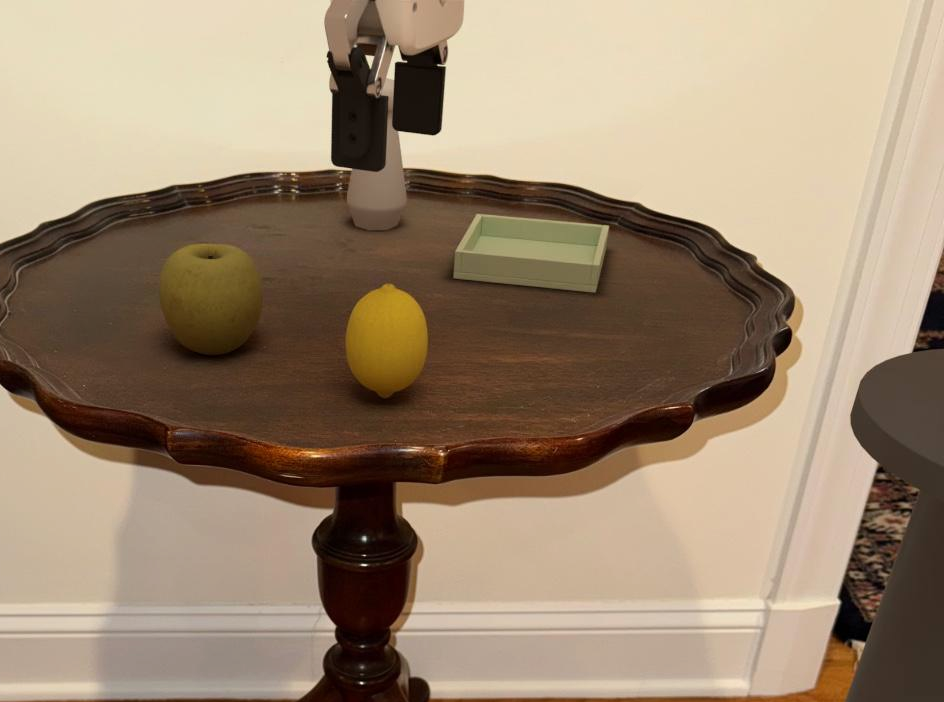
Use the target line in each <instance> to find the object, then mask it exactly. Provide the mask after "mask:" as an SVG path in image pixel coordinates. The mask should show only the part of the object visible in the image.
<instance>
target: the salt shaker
mask: <svg viewBox="0 0 944 702" xmlns="http://www.w3.org/2000/svg"><path fill="white" fill-rule="evenodd" d="M393 94H394V79H392V78H387V77H386V80H385V83H384V87H383V90H382V94H381V95H384V96H389V101H388V123H387V145H386V165H385V167H384V168H383V169H382V170H381V171H379V172H372V171H365V170H358V169H351V173H350V178H349V183H348V188H347V193H346V203H347V208H348V210H349V213H350V216H351V218H352V221H353V224H354V225H355V227H357V228H360V229H363V230H366V231H389V230H391V229H393V228H395V227H397V226H398V225H399V222H400V221H401V218H402V216H403V214H404V211H405V209H406V207H407V204H408V203H407V202H408V196H407V188H406V181H405V173H404V166H403V157H402V148H401V142H400V141H401V140H400V133H399V132H400V131H396V130H394V128H393V126H392V115H393Z"/></svg>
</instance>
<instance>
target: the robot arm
mask: <svg viewBox="0 0 944 702" xmlns="http://www.w3.org/2000/svg"><path fill="white" fill-rule="evenodd" d="M464 14H465V0H330V5H329V6H328V8H327V10H326V12H325V15H324V21H323V23H324V30H325V31H324V32H325V36H326V41H327V42H326V43H327V46H328V51H327V53H326V58H327V60H326V63H327V65H328V68H329V71H330V74H329V75H330V76H329V81H328V84H329V91H330V93H331V136H330V137H331V138H330V139H331V140H330V161H331V163H332V165H333V166H335V167H336V168H337V167H338V168H343V169H351V170H352V169H358V170H365V171H372V172H379V171H381V170H382V169H383V168H384V167H385V165H386V145H387V123H388V101H389V96H384V95H381V94H382V90H383V87H384V83H385V80H386V78H387V76H388V73H389V69H390V67H391V62H392V58H393V55H394V52H395V49H396V46H397V47H398V51H399V55H400V59H401V61H395V62H394V73H393V74H394V75H393V80H394V94H393V115H392V126H393V128H394V130H396V131H398V132H400V133H401V132H402V133H408V134H418V135H424V136H425V135H426V136H432V137H433V136H434V137H435V136H436V135H438V134H440V133H441V132H442V128H443V115H444V101H445V87H446V73H447V66H445V65H446V64H447V61H448V56H449V45H448V40H450V39H451V38H453V37H454V36H455V35H456V34H457V33H459V31H460V30H461V28H462V26H463V22H464V16H465V15H464ZM367 56H370V57H373V59H372V63H371V67H370V65H369V62H368V59H367Z"/></svg>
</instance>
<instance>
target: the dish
mask: <svg viewBox="0 0 944 702" xmlns="http://www.w3.org/2000/svg"><path fill="white" fill-rule="evenodd" d="M609 231H610V225H606V224H603V225H602V224H597V223H595V224H594V223H583V222H573V221H562V220H550V219H540V218H531V217H530V218H529V217H519V216H518V217H517V216H506V215H497V214H496V215H494V214H484V213H483V214H482V213H476V214H475V216H474V218H473V220H472V222H471V223H470V225H469V226H468V228H467V230H466V232H465V234H464V235H463V237H462V239H461V241H460V242H459V244H458V246H457V247H456V249H455V251H454V263H453V275H452V276H453V279H456V280H463V281H464V280H466V281H475V282H485V283H495V284H505V285H514V286H524V287H533V288H543V289H554V290H564V291H574V292H582V293H583V292H584V293H594V294H596V293H597V290H598V289H597V288H598V284H599V280H600V276H601V272H602V268H603V264H604V260H605V257H606V256H605V255H606V251H607V245H608V237H609Z"/></svg>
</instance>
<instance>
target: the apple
mask: <svg viewBox="0 0 944 702" xmlns="http://www.w3.org/2000/svg"><path fill="white" fill-rule="evenodd" d="M158 297H159V298H158V299H159V305H160V307H161V311H162V314H163V317H164V319H165V322H166V324H167V326H168V328H169V330H170V332H171V333H172V335H173V337H174V339H176V340H177V342H178V343H180V344H181V345H182V346H183V347H184V348H186V349H188V350H190V351H192V352H194V353H199V354H201V355H206V356H221V355H225V354H228V353H231V352H234V351H235V350H237V349H238V348H239V347H241V346H243V344H244V343H246V341H247V340H248V339H249V338H250V336H251V335H252V334H253V332H254V331H255V329H256V328H257V326H258V324H259V321H260V318H261V315H262V310H263V305H264V284H263V279H262V275H261V272H260V270H259V268H258V266H257V265H256V262H255V261H254V259H253V258H252V257H251V256H250V255H249V254H248V253H246V252H245V251H244V250H243V249H241V248H239V247H236V246H234V245H231V244H223V243H222V244H221V243H193V244H189V245H186V246H183V247H181V248H178V249H177V250H175V251H174V252H173V253H172V254H171V255H170V256H169V257H168V258H167V260H166V261H165V263H164V265H163V267H162V269H161V272H160V275H159V281H158Z"/></svg>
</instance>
